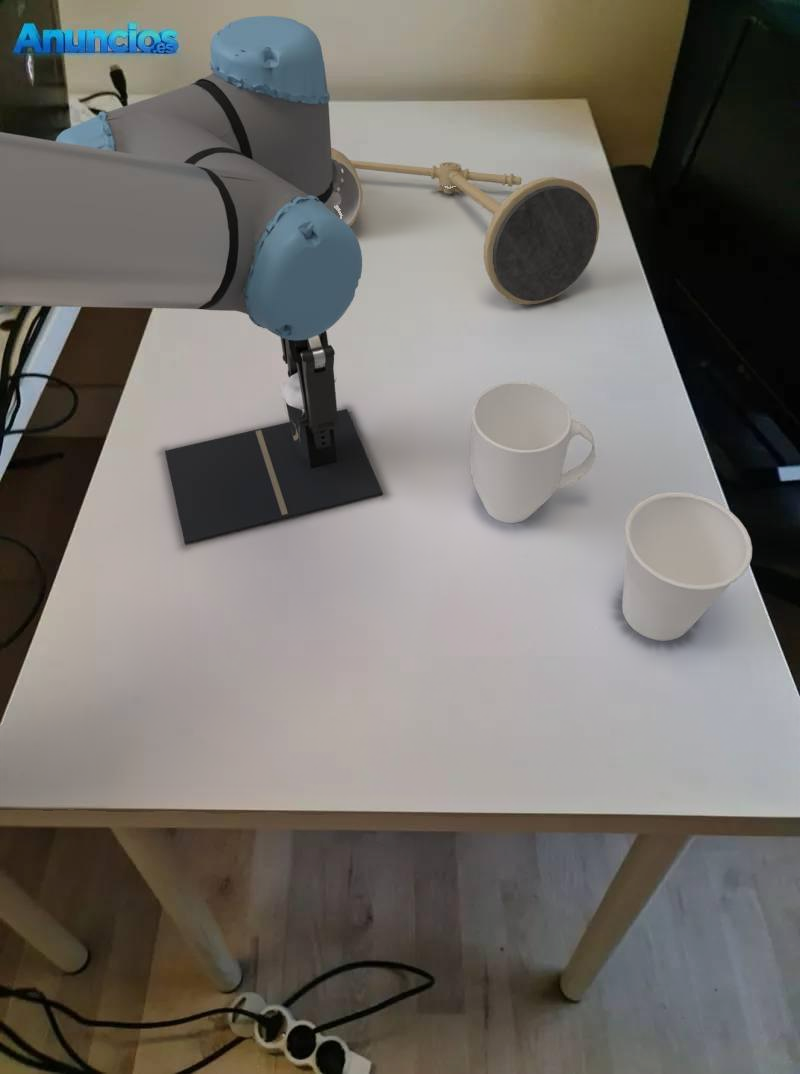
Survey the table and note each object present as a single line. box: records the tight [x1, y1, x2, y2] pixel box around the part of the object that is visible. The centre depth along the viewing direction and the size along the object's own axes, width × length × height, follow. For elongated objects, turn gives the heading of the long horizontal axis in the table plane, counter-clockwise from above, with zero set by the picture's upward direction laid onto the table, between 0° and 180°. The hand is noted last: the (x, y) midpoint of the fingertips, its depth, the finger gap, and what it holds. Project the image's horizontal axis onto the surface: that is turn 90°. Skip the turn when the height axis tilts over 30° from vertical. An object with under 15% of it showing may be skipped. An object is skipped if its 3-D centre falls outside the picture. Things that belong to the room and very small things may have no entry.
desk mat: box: [164, 408, 384, 545], centre depth 86 cm, size 20×13×1 cm, turn 108°
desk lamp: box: [331, 147, 600, 306], centre depth 110 cm, size 15×35×40 cm
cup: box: [621, 491, 753, 642], centre depth 70 cm, size 10×10×11 cm
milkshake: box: [281, 373, 337, 458], centre depth 81 cm, size 4×5×10 cm
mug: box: [469, 381, 597, 524], centre depth 78 cm, size 12×9×12 cm
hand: (316, 446), depth 85 cm, fingers closed on milkshake, 4 cm apart
